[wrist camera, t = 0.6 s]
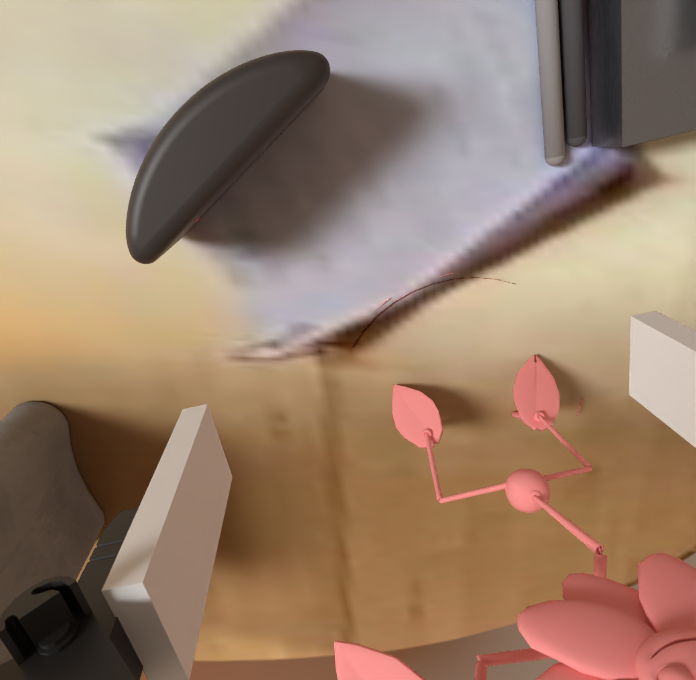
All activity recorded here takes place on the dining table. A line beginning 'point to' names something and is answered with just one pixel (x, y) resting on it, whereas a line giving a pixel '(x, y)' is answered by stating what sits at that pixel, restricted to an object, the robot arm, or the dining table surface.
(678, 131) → the lever switch plate
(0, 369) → the dining table surface
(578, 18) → the rods
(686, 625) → the figurine
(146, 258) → the black rounded flat block
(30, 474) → the flask
